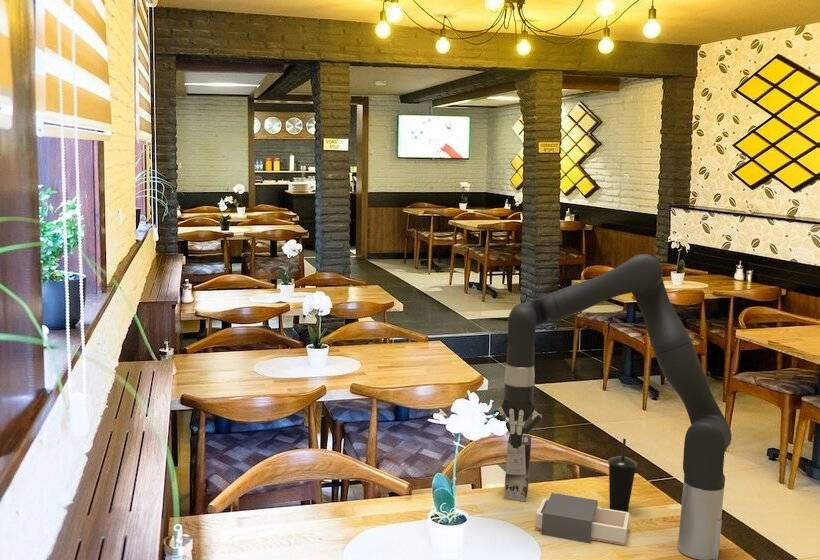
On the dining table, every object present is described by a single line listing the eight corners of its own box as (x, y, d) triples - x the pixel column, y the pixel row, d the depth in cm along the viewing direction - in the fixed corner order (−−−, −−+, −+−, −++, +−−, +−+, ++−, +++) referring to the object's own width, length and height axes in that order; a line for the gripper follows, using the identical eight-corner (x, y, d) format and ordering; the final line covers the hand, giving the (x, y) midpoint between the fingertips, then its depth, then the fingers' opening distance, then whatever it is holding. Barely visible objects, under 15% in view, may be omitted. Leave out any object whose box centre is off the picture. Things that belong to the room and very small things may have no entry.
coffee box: (526, 502, 224) (530, 445, 222) (503, 499, 225) (506, 442, 223) (528, 489, 233) (532, 435, 231) (506, 487, 234) (509, 432, 232)
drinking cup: (621, 518, 216) (627, 445, 213) (598, 508, 221) (604, 437, 219) (639, 511, 220) (645, 440, 218) (615, 502, 226) (621, 432, 224)
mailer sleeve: (596, 520, 213) (597, 500, 213) (590, 543, 200) (591, 521, 199) (550, 512, 217) (551, 492, 216) (541, 534, 203) (542, 512, 203)
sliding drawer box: (628, 527, 209) (629, 512, 209) (625, 545, 199) (626, 529, 198) (542, 512, 216) (543, 498, 215) (535, 529, 206) (536, 513, 205)
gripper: (547, 381, 210) (543, 446, 212) (497, 376, 214) (494, 440, 216) (542, 388, 203) (539, 455, 205) (490, 382, 207) (487, 448, 209)
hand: (515, 447), depth 211 cm, fingers closed
